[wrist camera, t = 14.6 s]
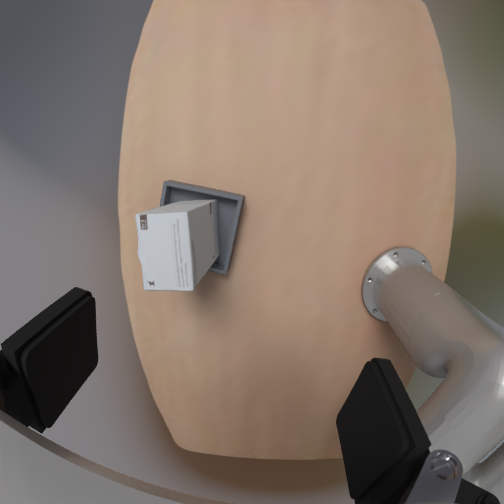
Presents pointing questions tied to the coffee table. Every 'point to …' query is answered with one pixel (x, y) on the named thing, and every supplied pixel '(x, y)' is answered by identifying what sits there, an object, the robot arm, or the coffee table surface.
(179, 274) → the skincare box
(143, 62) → the coffee table surface
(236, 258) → the coffee table surface
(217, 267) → the tray
